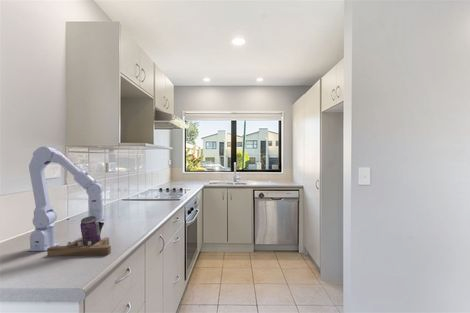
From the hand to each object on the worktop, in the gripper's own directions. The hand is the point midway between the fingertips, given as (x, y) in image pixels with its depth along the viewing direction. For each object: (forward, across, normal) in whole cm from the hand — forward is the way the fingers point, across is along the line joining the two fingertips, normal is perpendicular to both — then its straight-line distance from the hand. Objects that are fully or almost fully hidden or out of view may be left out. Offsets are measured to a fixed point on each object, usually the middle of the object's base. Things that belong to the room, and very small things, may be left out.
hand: (96, 239), depth 132 cm
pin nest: (+2, -9, +1) cm, 9 cm away
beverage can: (+1, -4, 0) cm, 4 cm away
